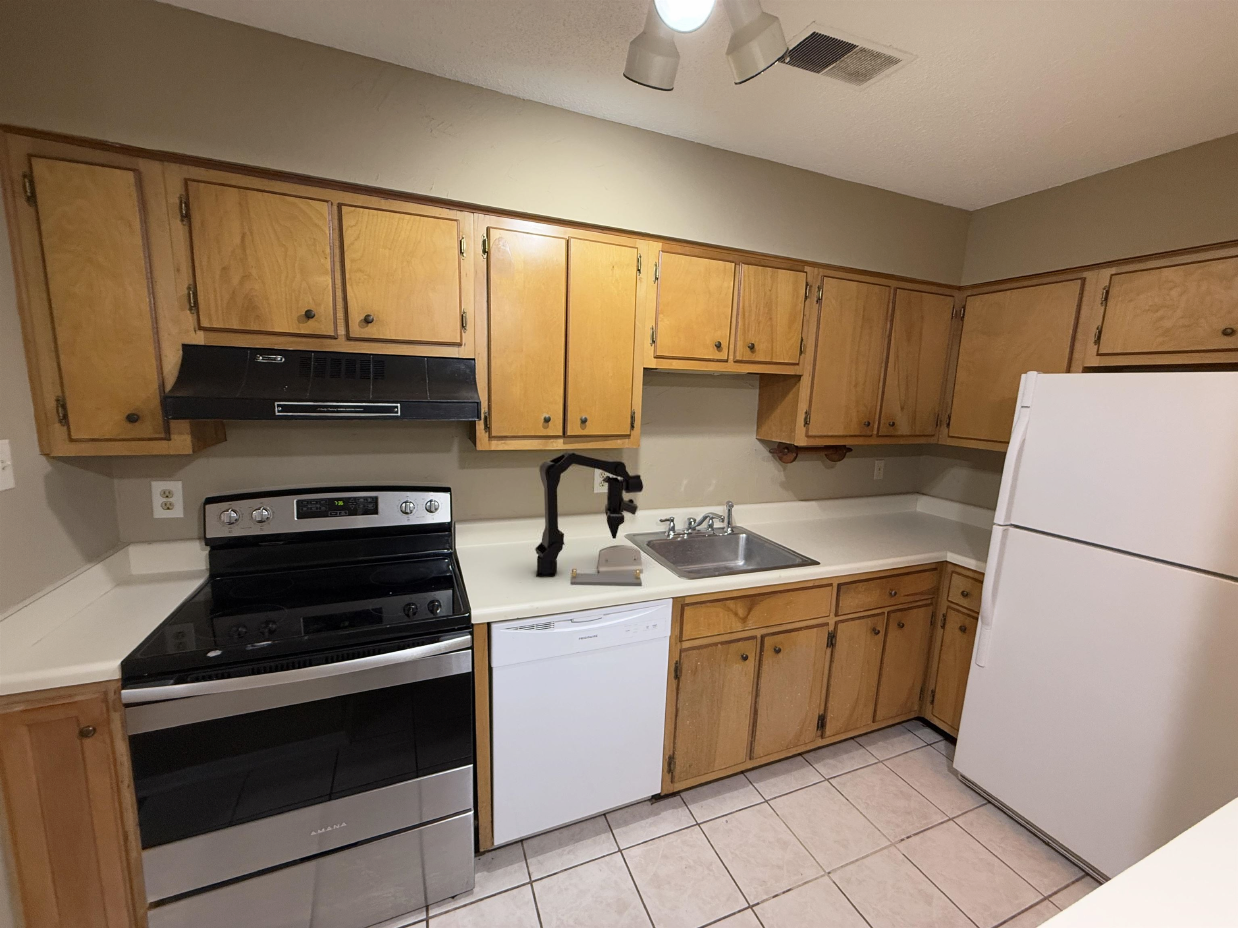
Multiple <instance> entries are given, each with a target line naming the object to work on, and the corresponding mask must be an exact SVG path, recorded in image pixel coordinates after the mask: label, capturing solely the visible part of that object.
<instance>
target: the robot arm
mask: <svg viewBox="0 0 1238 928" xmlns="http://www.w3.org/2000/svg"><path fill="white" fill-rule="evenodd" d="M572 465H578V466H582V467H586V468H592V469H595V470H600V471H602V472H605V473H606V474H608V475H606V476H605V477H603V478H602V480H601V481H602V482H603V483H606V484H607V488H606V489H607V491H606V492H607V493H606V504H605V505H604V506H605V507H604V511H605V517H606V524H607V527H608V528H609V532H610V535H611V537H612V539H616V538H617V535H618V531H619V528H620V527H621V525H622V524H624V523H625V515H624V514H623V513H624V511H625V512H627V513H630V514H631V515H634V516H635V515H636V513H637V510H638V505H637V504H636V503H635V502H634V499H632V498H629V499H626V500H625V498H624V495H623V494H624V492H625V493H626V494H633V493H634V494H636V493H641V492H643V489H644V484H643V479H642V476H641V475H640V474H638V473H637V474H630V473H629V472H628V470H627V465H626V464H625V462H623V461H621V460H618V459H613V458H612V459H611V458H597V457H592V456H588V455H584V454H579V453H575V452H573V451H569V450H567V451H565V452H564V453H563V454H560V455H558V456H556V457H554V458H552V459H550V460H549V461H544V462H543V463H541V464H540V466H539V469H538V471H539V477H540V481H541V482H542V487H543V490H544V491H543V493H544V525H545V526H544V529H543V532H542V535H541V536H542V538H541V542H540V543H539V544H538V545H537V546H536V547H535V548H534V550H535V552H536V554H537V557H536V574H535V576H536V577H540V578H541V577H547V578H548V577H549V578H551V577H555V576H556V574H557V573H558V557H559V554H560V553H561V551H562V550H563V549H564V546H565V542H564V540H565V533H564V532H562V531H561V530H560V529H559V517H558V516H559V515H558V514H559V513H558V512H559V511H558V507H559V506H558V487H559V484H560V482H561V478H562V477H561V475H562V474H563V473H564V472H567V470H568V469H570V467H571V466H572ZM610 475H611V476H614V477H611V476H610ZM620 478H621V479H620Z"/></svg>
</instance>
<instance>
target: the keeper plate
mask: <svg viewBox="0 0 1238 928" xmlns="http://www.w3.org/2000/svg"><path fill="white" fill-rule="evenodd" d="M577 570H578V569H577V568H572V569H571V575H570V576H571V577H570V585H571V586H607V587H609V586H611V587H612V586H614V587H617V586H618V587H619V586H622V587H643V583H642V578H641V574H640V570H636V574H599V573H597V572H596V573H595V572H594V573H590V572H589V573H587V572H584V573H583V572H580V573H579V572H578V571H577Z"/></svg>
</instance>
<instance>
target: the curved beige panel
mask: <svg viewBox="0 0 1238 928" xmlns="http://www.w3.org/2000/svg"><path fill="white" fill-rule="evenodd" d="M596 570H597V571H598V574H636V570H640V575H641V574H644V571H643V570H644V569H643V560H642V552H641V550H640V549H639V547H635V546H632V545H628V544H627V545H626V544H625V545H624V544H618V545H617V544H616V545H610V546H607V547H606V546H605V547H604V548H600V549H599V552H598V558H597V564H596Z"/></svg>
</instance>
